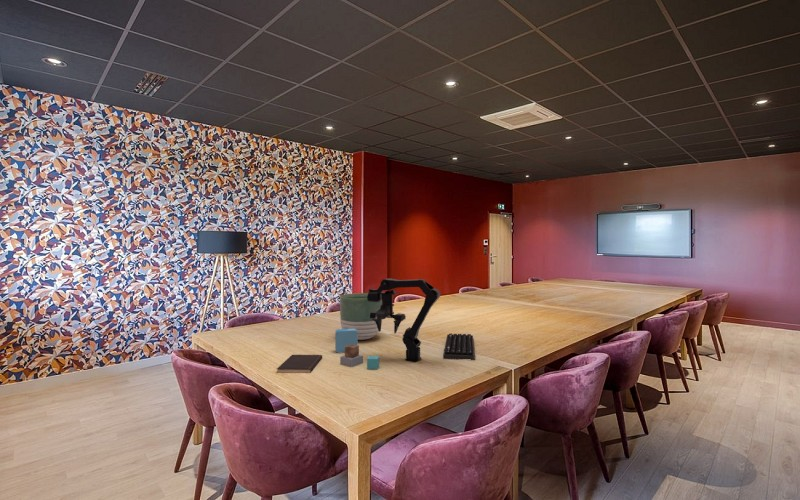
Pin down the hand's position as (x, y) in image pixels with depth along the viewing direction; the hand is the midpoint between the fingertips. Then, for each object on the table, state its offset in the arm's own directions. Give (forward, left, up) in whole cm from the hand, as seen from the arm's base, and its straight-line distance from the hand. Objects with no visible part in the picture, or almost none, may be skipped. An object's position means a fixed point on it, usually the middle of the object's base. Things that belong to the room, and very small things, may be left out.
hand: (387, 332), depth 202 cm
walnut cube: (+11, +17, -9) cm, 22 cm away
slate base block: (+11, +17, -13) cm, 24 cm away
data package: (+26, 0, -13) cm, 29 cm away
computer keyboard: (-28, -34, -14) cm, 46 cm away
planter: (+34, -28, -13) cm, 46 cm away
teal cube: (-2, +18, -13) cm, 22 cm away
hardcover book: (+32, +30, -14) cm, 46 cm away
